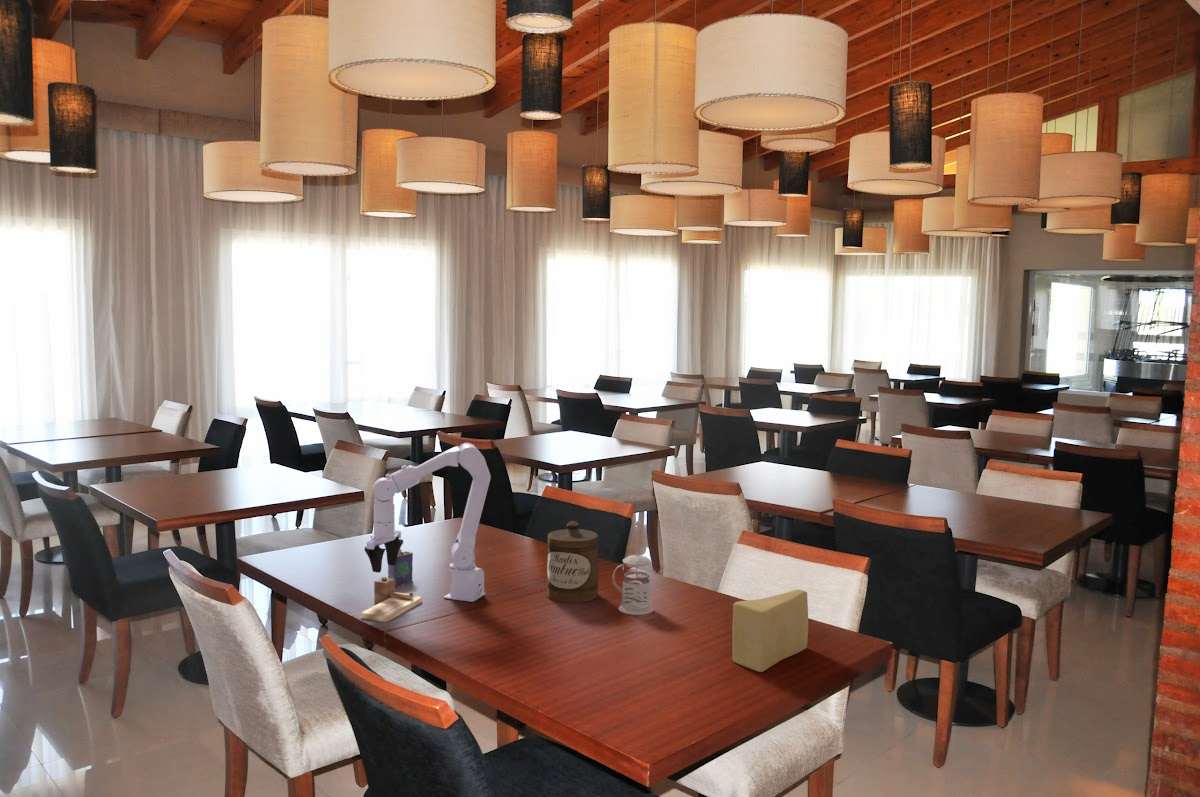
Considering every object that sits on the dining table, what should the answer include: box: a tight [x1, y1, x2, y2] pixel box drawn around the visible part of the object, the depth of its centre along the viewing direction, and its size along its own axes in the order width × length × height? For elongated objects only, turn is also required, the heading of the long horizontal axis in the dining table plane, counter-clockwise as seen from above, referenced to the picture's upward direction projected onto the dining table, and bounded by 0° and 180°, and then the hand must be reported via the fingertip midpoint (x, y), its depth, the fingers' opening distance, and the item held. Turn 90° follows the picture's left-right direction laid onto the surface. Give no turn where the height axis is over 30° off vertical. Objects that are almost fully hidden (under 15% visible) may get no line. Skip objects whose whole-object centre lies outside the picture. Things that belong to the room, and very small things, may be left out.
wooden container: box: [546, 520, 599, 604], centre depth 269 cm, size 15×15×22 cm
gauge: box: [373, 576, 415, 604], centre depth 261 cm, size 11×4×7 cm, turn 71°
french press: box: [612, 520, 654, 616], centre depth 258 cm, size 10×12×25 cm
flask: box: [387, 548, 414, 588], centre depth 278 cm, size 9×3×11 cm, turn 146°
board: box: [360, 595, 423, 623], centre depth 254 cm, size 8×18×2 cm, turn 161°
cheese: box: [732, 589, 809, 673], centre depth 224 cm, size 22×10×15 cm, turn 129°
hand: (384, 568), depth 261 cm, fingers open, 7 cm apart
